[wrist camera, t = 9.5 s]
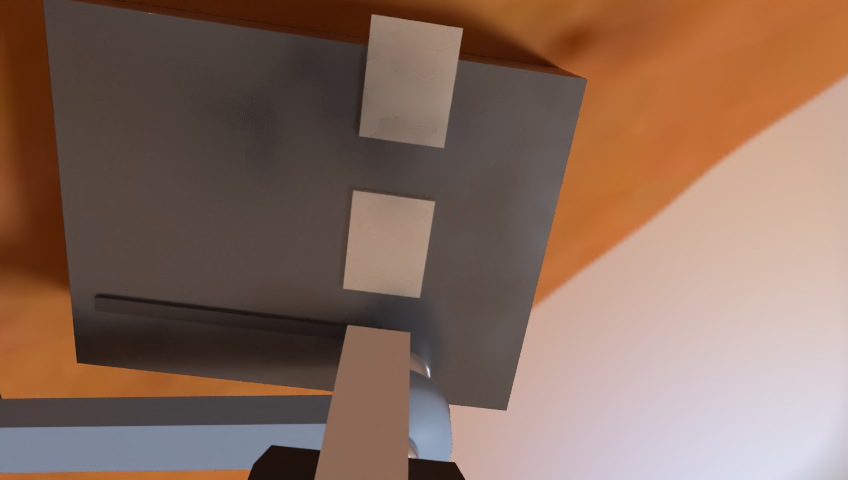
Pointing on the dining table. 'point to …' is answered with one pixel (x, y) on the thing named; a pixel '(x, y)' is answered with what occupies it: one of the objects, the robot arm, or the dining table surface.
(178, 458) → the swing bar
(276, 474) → the robot arm
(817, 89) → the dining table surface
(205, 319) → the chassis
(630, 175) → the dining table surface
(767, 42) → the dining table surface
